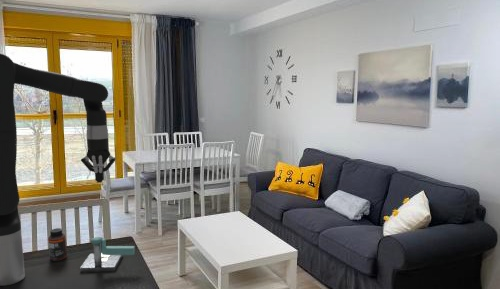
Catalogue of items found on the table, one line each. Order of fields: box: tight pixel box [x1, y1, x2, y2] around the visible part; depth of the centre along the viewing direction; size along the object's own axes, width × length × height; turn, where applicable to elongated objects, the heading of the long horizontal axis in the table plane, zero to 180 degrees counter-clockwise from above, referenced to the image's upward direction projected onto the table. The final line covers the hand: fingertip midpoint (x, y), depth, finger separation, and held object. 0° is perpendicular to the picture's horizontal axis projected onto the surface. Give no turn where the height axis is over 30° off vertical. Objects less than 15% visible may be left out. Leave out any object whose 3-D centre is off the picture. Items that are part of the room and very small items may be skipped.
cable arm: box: [90, 236, 136, 256], centre depth 142 cm, size 4×15×6 cm, turn 91°
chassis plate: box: [79, 243, 124, 273], centre depth 147 cm, size 12×12×10 cm
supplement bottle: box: [47, 227, 68, 262], centre depth 151 cm, size 6×6×11 cm
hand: (99, 181), depth 152 cm, fingers closed
